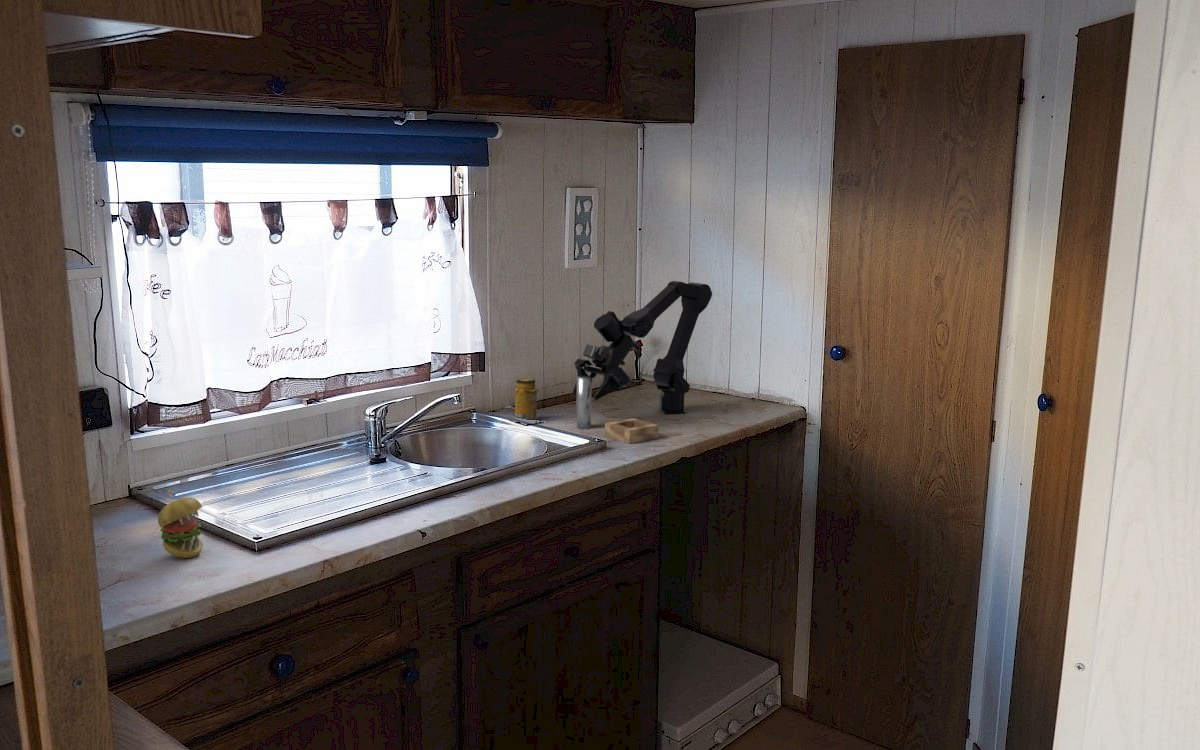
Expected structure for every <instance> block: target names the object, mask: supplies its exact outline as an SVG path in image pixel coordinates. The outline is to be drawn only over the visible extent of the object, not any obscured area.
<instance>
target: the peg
mask: <svg viewBox="0 0 1200 750" xmlns="http://www.w3.org/2000/svg"><path fill="white" fill-rule="evenodd" d="M577 376H578V375H577ZM576 380H577V394H576V420H575V421H576V427H575V428H576V429H578V430H588V429H591V428H592V382H591V377H589V376H578V377H576Z"/></svg>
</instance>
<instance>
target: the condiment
mask: <svg viewBox="0 0 1200 750" xmlns="http://www.w3.org/2000/svg"><path fill="white" fill-rule="evenodd" d="M515 382H516V385H515V386H516V388H515V390H514V418H515V417H517V418H521V419H526V420H536V419H537V406H538V405H537V404H538V403H537V402H538V401H537V400H538V399H537V397H538V395H537V393H538V392H537V388H536V379H535V378H531V377H520V378H519V377H518V378H517V379H516V381H515ZM543 421H544V420H543ZM544 423H546V421H544Z"/></svg>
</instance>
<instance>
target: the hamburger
mask: <svg viewBox="0 0 1200 750" xmlns="http://www.w3.org/2000/svg"><path fill="white" fill-rule="evenodd" d="M167 494H168V495H169V497H170V500H171V501H170V502H169V503H168V504H166V505H165V506H164V507H163V508H161V510H160V511H159V514H158V516H157V523H158V525H159V527H160V529H159V532H161V537H160V539H161V540H162V545H163V548H164V550H165V551H166V552H167V553H169V554H170V555H171V556H174V557H176V558H181V559H189V558H194V557H196V556H198V555H199V554H200V553H201V552H202V551H203V545H204V544H203V542H202V540H200V538H199V536H201V535H202V534H201V531H200V528H201V527H202V524H201V523H198V522H199V521H198V520H196V519H197V518H198V517H200V516H199V512H198V511H199V510H201V508H203V507H202V504H201V502H200V501H198V500H197V499H196V498H193V497H182V498H178V499H175V500H172V495H173V494H174V490H169V489H167ZM184 517H186V518H184ZM190 517H191V518H190ZM193 517H194V518H195V519H194V518H193ZM196 517H197V518H196Z"/></svg>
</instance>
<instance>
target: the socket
mask: <svg viewBox="0 0 1200 750" xmlns="http://www.w3.org/2000/svg"><path fill="white" fill-rule="evenodd" d="M604 437H607V438H610V439H614V440H617V441H619V442H623V443H627V444H628V445H629V444H630V445H631V444H635V443H640V442H641V443H642V442H645V441H650V440H655V439H658V438H659V425H658V424H656V423H652V422H649V421H645V420H641V419H638V418H636V417H632V418H627V419H622V420H615V421H611V422H605V424H604Z"/></svg>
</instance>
